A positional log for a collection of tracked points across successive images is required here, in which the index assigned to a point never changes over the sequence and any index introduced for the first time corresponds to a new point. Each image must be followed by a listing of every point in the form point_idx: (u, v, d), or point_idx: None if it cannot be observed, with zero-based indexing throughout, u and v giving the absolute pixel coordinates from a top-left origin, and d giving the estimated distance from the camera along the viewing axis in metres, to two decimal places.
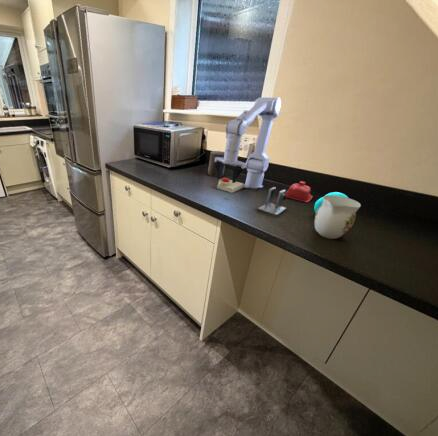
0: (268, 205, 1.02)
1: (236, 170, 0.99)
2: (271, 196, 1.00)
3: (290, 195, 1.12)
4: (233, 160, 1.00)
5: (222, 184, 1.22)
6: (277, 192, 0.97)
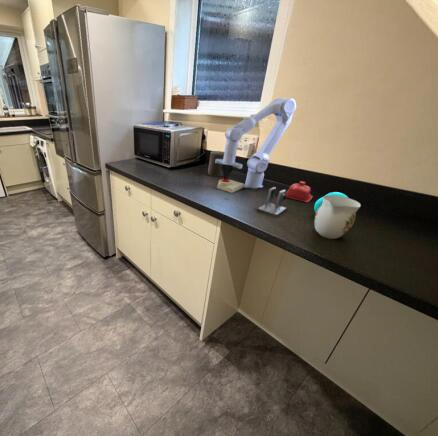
0: (268, 205, 1.02)
1: (227, 169, 1.18)
2: (271, 196, 1.00)
3: (290, 195, 1.12)
4: (231, 161, 1.16)
5: (222, 184, 1.22)
6: (277, 192, 0.97)
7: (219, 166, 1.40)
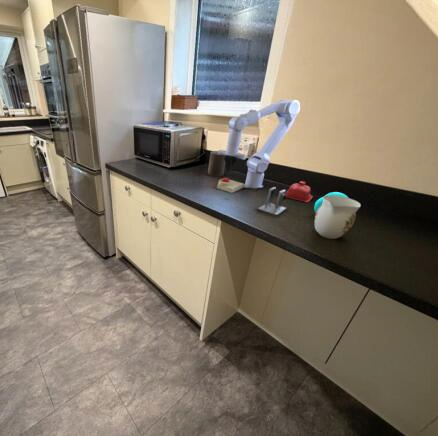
0: (268, 205, 1.02)
1: (230, 160, 1.15)
2: (271, 196, 1.00)
3: (290, 195, 1.12)
4: (234, 152, 1.13)
5: (222, 184, 1.22)
6: (277, 192, 0.97)
7: (219, 166, 1.40)
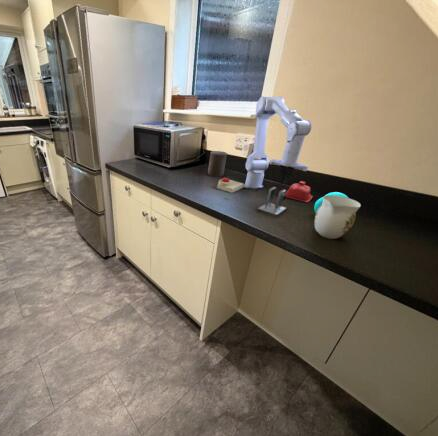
0: (268, 205, 1.02)
1: (287, 171, 0.97)
2: (271, 196, 1.00)
3: (290, 195, 1.12)
4: (293, 162, 0.95)
5: (222, 184, 1.22)
6: (277, 192, 0.97)
7: (219, 166, 1.40)
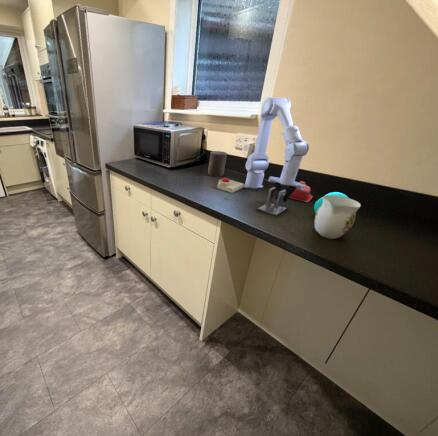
0: (268, 205, 1.02)
1: (289, 190, 0.99)
2: (271, 196, 1.00)
3: (290, 195, 1.12)
4: (291, 181, 0.99)
5: (222, 184, 1.22)
6: (277, 192, 0.97)
7: (219, 166, 1.40)
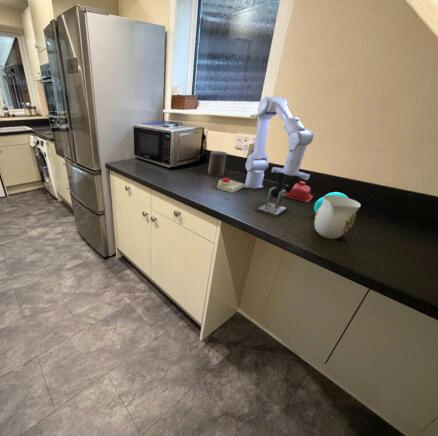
0: (268, 205, 1.02)
1: (293, 180, 0.98)
2: (271, 196, 1.00)
3: (290, 195, 1.12)
4: (295, 171, 0.97)
5: (222, 184, 1.22)
6: (276, 193, 0.97)
7: (219, 166, 1.40)
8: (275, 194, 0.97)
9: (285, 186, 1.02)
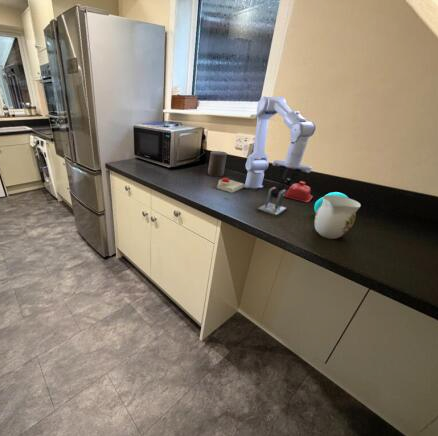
0: (268, 205, 1.02)
1: (295, 173, 0.96)
2: (271, 196, 1.00)
3: (290, 195, 1.12)
4: (297, 164, 0.95)
5: (222, 184, 1.22)
6: (276, 195, 0.97)
7: (219, 166, 1.40)
8: (275, 195, 0.98)
9: (286, 181, 1.01)
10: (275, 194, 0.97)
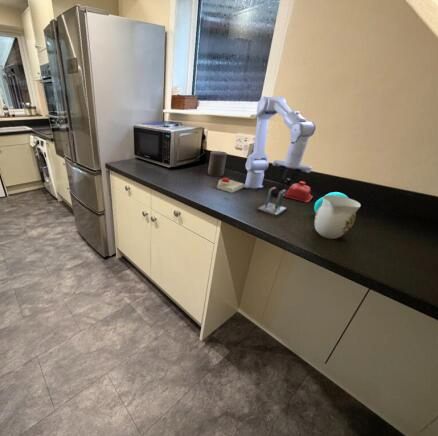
0: (268, 205, 1.02)
1: (295, 173, 0.96)
2: (271, 196, 1.00)
3: (290, 195, 1.12)
4: (297, 164, 0.95)
5: (222, 184, 1.22)
6: (276, 195, 0.97)
7: (219, 166, 1.40)
8: (275, 195, 0.98)
9: (286, 181, 1.01)
10: (275, 194, 0.97)
